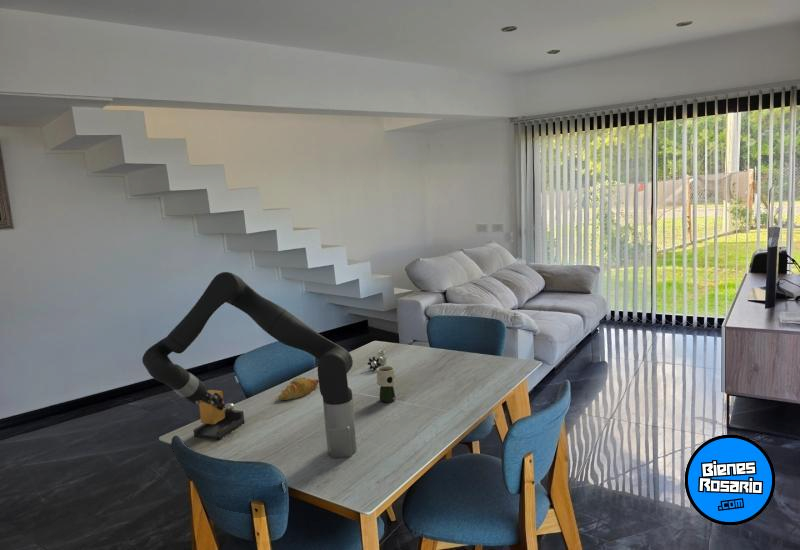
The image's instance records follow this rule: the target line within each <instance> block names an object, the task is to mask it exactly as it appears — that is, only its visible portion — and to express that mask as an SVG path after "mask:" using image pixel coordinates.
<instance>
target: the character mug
mask: <svg viewBox="0 0 800 550" xmlns="http://www.w3.org/2000/svg"><path fill="white" fill-rule="evenodd" d="M378 367H379V368H376V379H377V380H376V381H377V382H376V383H377V386H379V387H380V388H379V400H380V401H381V402H384V403H387V402H388V403H389V402H390V403H391V402H393V401H394V400H396V393H395V388H394V385H395V384H396V377H395V376H396V371H395V367H394V366H392V365H381V366H378Z"/></svg>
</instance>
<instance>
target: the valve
mask: <svg viewBox="0 0 800 550" xmlns="http://www.w3.org/2000/svg"><path fill="white" fill-rule="evenodd" d="M386 354H387V353H386V350H385V349H380V350H378V351H377V357H376V356H373V357H372V358H371V357H369V358H368V362H367V366H369V370H372V369H373V372H375V370H376V371H377V368H379V367H381V366H387V355H386Z"/></svg>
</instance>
